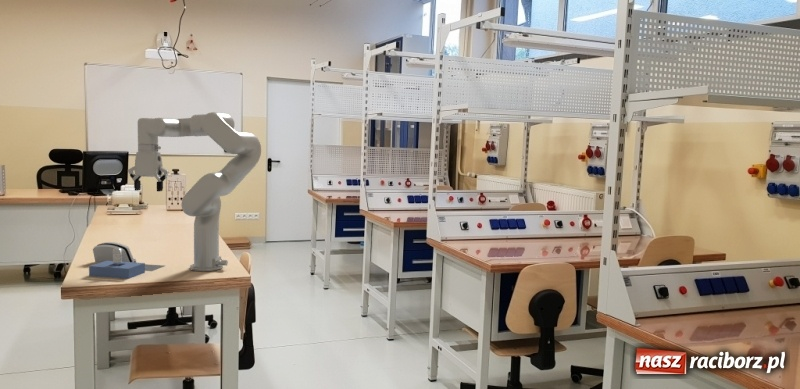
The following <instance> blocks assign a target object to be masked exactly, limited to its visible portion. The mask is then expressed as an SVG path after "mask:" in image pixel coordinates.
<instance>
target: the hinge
mask: <svg viewBox="0 0 800 389" xmlns="http://www.w3.org/2000/svg"><path fill="white" fill-rule="evenodd" d="M115 248H122V262H135V263H137V260H136V258H134V257H133V254H132V252H131V248H130V247H129V246H127V245H125V244H123V243H120V242H119V243H118V242H115V241H107V242H102V243H98V244H97V245H96V246H94V247H93V248H92V253H93V257H94V258H93V259H94V262H95V263H101V262H104V261H113V249H115Z"/></svg>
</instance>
